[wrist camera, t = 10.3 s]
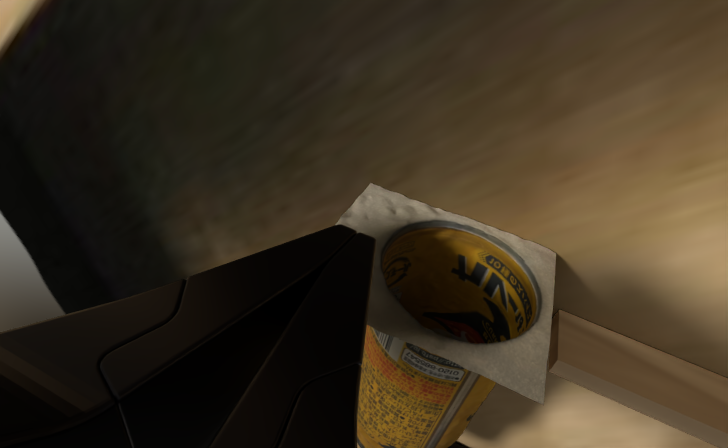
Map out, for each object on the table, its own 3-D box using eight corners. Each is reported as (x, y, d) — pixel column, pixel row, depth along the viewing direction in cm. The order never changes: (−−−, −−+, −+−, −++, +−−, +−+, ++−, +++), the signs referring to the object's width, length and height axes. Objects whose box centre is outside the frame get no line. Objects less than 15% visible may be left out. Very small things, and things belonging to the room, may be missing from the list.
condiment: (558, 249, 17) (468, 396, 24) (371, 179, 19) (340, 335, 26) (547, 401, 11) (434, 530, 19) (284, 281, 13) (277, 441, 21)
